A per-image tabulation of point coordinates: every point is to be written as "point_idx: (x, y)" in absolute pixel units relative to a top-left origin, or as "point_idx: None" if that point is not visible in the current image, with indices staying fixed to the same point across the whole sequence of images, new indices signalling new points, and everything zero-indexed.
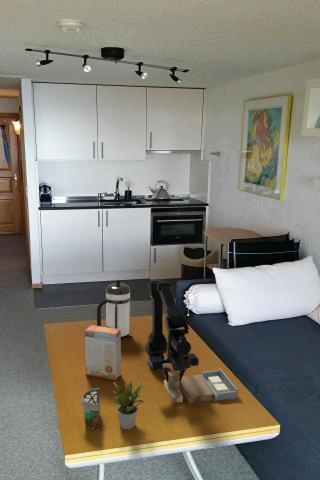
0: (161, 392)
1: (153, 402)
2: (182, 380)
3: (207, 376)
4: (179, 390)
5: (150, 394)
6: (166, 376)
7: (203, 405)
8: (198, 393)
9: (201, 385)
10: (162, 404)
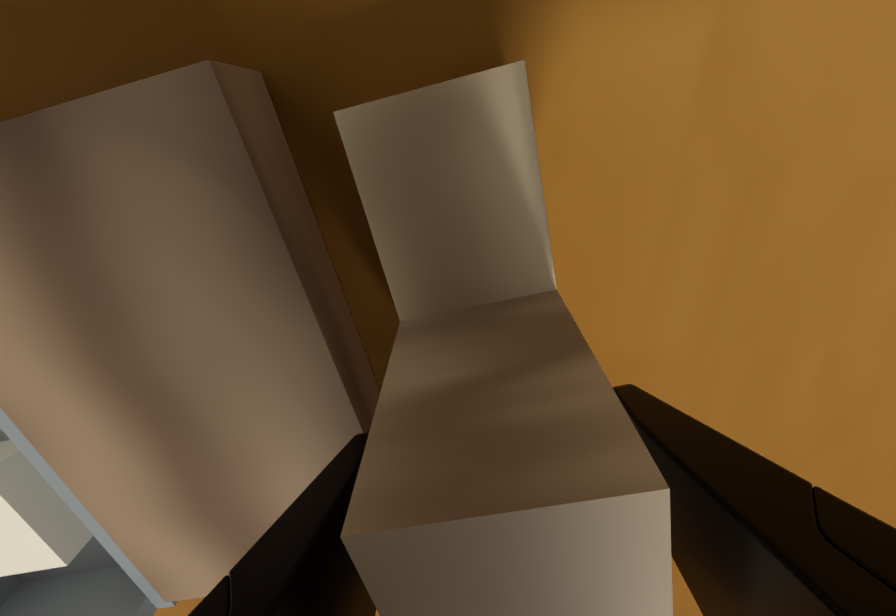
0: (618, 336)
1: (794, 83)
2: None
3: (114, 582)
4: (393, 278)
5: (767, 292)
6: (757, 475)
7: (30, 2)
8: (72, 197)
9: (90, 412)
10: (671, 21)
